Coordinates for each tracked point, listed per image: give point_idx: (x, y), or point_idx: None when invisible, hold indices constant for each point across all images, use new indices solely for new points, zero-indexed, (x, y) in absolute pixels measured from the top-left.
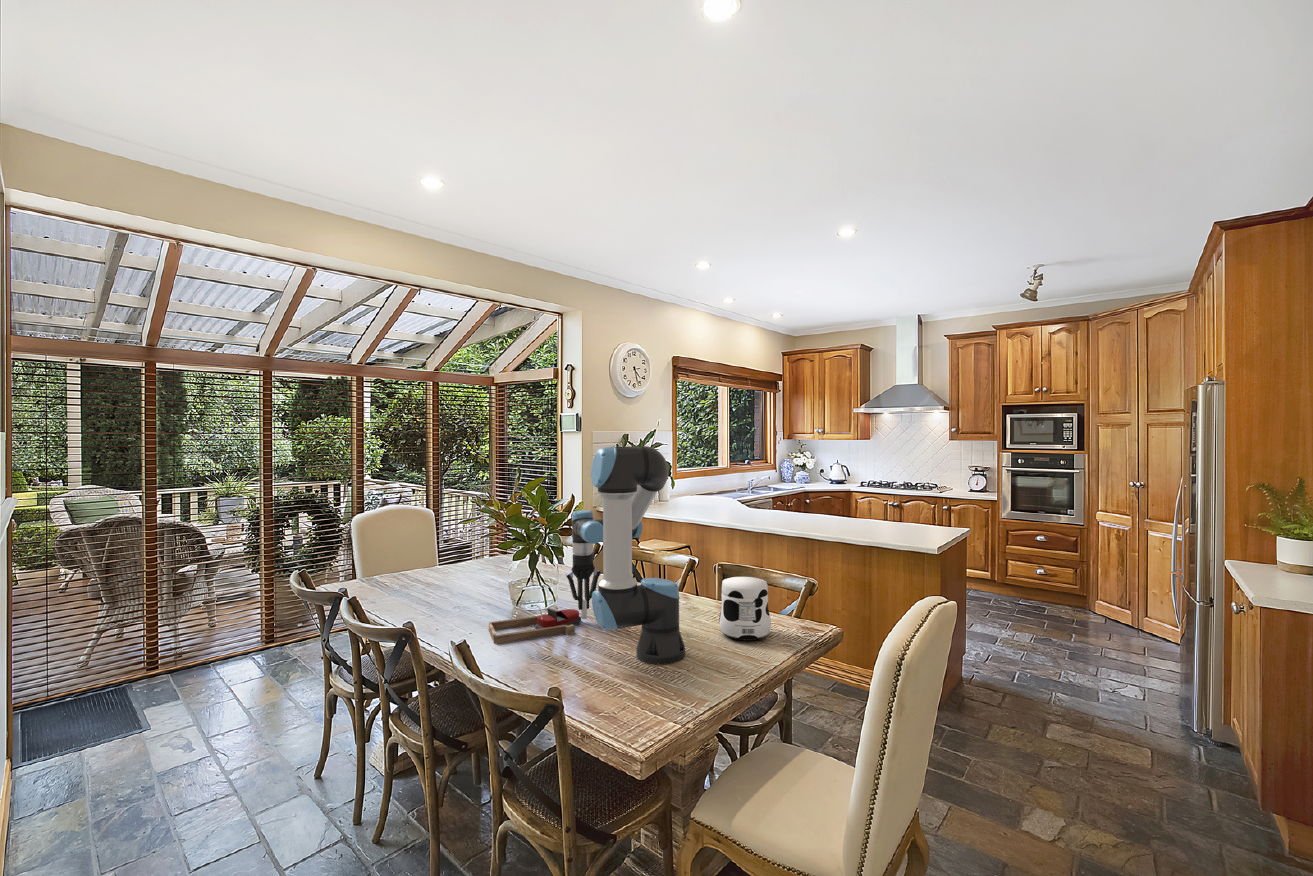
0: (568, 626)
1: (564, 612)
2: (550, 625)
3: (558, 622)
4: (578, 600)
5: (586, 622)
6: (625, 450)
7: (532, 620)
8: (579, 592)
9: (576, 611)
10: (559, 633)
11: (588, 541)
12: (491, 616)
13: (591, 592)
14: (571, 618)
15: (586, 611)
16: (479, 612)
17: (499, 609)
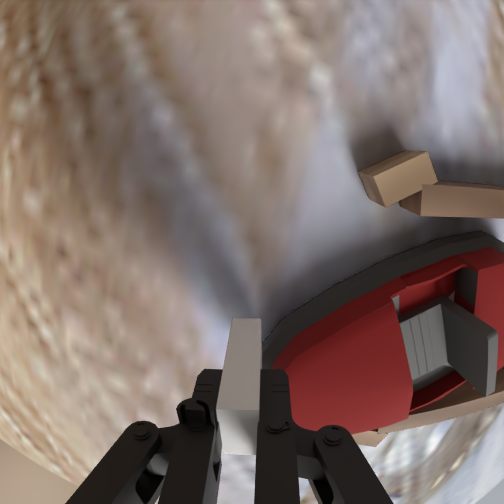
0: (419, 169)
1: (395, 369)
2: (492, 250)
3: (452, 268)
4: (300, 428)
5: None
6: None
7: None
8: (297, 493)
9: (295, 388)
10: (447, 181)
11: None
12: (500, 457)
13: (145, 483)
14: (355, 311)
15: (229, 348)
16: (495, 479)
17: (452, 497)
